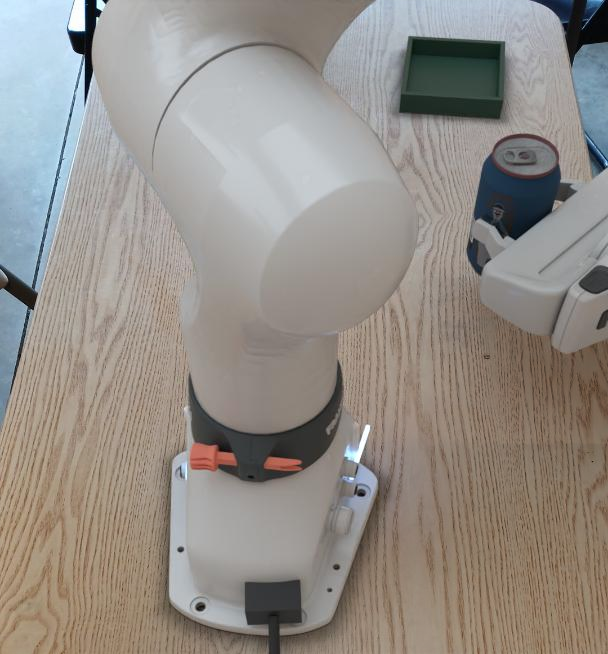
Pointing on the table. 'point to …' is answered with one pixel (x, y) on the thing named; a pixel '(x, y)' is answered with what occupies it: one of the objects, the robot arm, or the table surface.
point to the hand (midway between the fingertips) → (505, 202)
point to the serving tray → (453, 77)
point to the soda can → (515, 189)
